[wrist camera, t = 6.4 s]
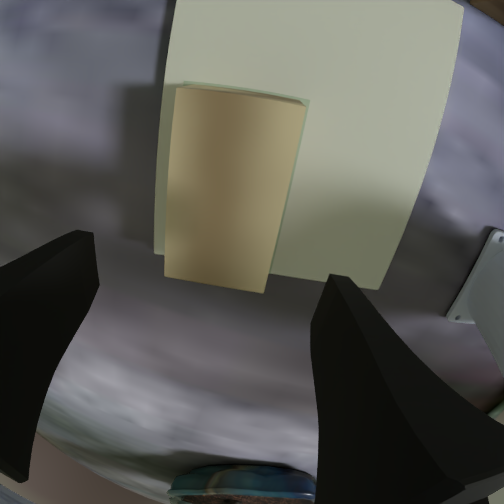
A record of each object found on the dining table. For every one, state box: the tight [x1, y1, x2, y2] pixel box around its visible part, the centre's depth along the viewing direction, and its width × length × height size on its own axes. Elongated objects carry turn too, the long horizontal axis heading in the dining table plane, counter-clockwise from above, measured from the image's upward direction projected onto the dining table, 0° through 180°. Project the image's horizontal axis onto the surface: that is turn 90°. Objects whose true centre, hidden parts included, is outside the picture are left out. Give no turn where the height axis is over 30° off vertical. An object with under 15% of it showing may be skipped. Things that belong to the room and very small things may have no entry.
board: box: [154, 0, 464, 290], centre depth 14 cm, size 14×18×1 cm
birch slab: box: [164, 84, 306, 293], centre depth 15 cm, size 5×9×3 cm, turn 171°
